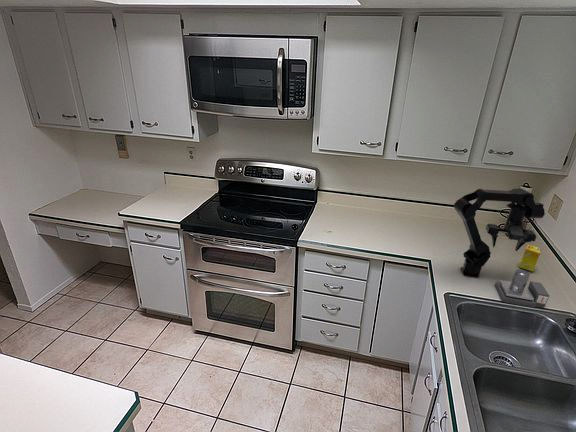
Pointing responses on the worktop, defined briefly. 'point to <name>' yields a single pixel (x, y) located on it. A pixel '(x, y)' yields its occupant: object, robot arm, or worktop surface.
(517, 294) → the pan
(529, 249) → the supplement box
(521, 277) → the cylinder
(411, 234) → the worktop surface
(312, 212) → the worktop surface
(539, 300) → the dark grey u-shaped piece
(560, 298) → the worktop surface
